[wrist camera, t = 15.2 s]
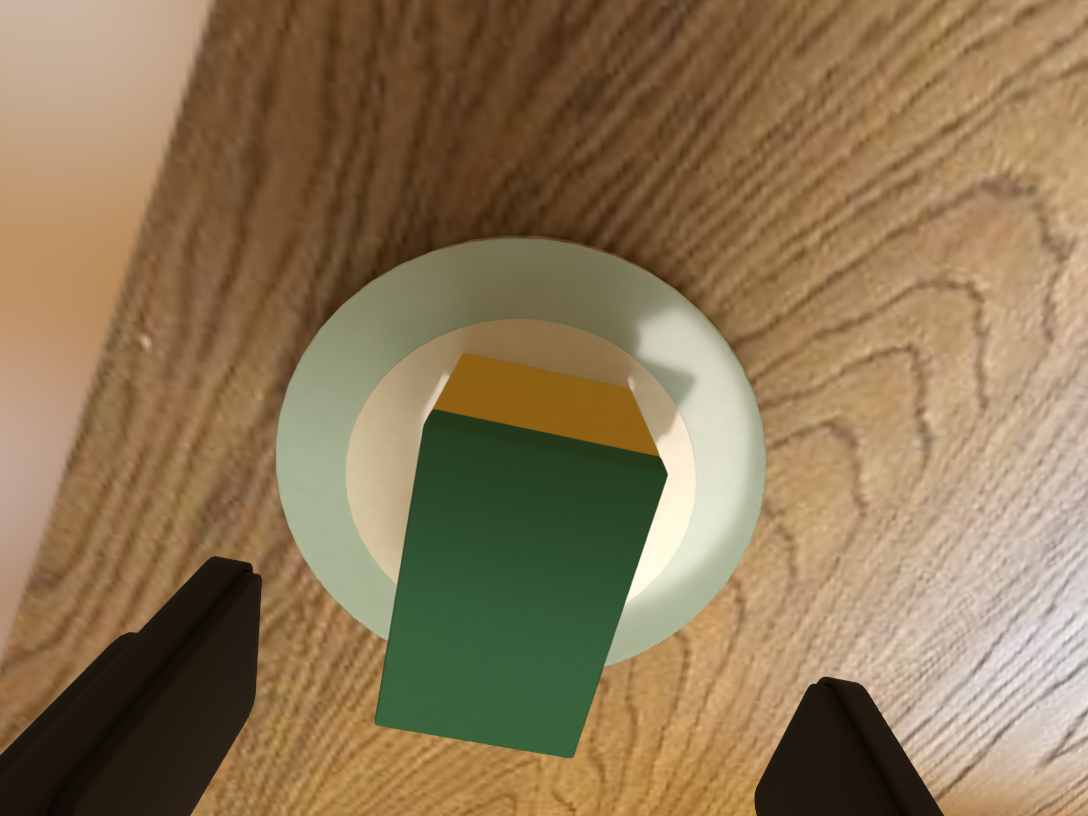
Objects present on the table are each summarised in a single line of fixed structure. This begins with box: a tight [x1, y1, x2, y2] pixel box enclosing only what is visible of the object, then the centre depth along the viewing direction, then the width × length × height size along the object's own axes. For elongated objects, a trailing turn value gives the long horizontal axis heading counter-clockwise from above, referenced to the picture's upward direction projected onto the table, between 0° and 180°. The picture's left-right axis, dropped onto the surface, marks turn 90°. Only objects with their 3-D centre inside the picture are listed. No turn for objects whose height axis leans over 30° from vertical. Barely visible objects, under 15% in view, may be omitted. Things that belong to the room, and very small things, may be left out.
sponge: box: [375, 353, 668, 758], centre depth 14 cm, size 8×5×5 cm, turn 167°
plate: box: [276, 235, 767, 667], centre depth 17 cm, size 14×14×1 cm
